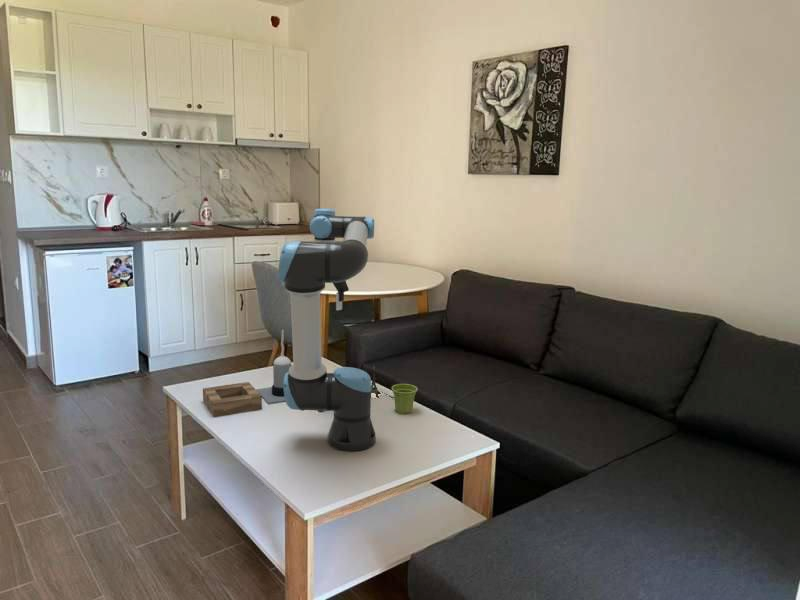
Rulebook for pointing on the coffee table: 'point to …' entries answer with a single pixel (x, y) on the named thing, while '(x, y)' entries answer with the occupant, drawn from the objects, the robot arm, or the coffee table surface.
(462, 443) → the coffee table surface
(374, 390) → the eiffel tower figurine
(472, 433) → the coffee table surface
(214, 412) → the dock
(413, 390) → the plant pot
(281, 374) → the humidifier
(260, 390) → the mat
